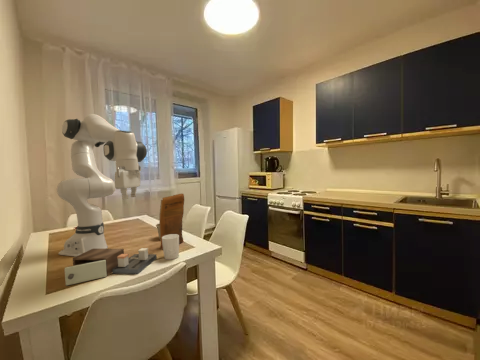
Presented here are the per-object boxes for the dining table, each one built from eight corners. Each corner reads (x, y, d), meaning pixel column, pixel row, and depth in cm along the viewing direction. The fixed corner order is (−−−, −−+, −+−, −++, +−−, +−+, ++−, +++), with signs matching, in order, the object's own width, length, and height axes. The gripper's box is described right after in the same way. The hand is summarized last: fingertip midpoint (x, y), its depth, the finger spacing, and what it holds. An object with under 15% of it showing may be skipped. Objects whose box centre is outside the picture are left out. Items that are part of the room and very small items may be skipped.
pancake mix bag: (190, 240, 132) (188, 193, 131) (164, 251, 116) (161, 197, 114) (182, 239, 136) (179, 192, 134) (155, 249, 119) (152, 196, 118)
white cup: (170, 261, 103) (169, 239, 102) (159, 258, 107) (158, 237, 106) (183, 255, 109) (182, 235, 109) (172, 252, 114) (171, 233, 113)
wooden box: (73, 274, 93) (72, 258, 92) (94, 263, 104) (93, 248, 103) (107, 275, 91) (106, 258, 91) (124, 263, 102) (123, 248, 102)
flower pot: (169, 240, 134) (169, 226, 134) (154, 240, 134) (153, 226, 134) (174, 235, 144) (173, 222, 143) (159, 236, 144) (159, 222, 143)
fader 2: (138, 260, 100) (138, 250, 100) (142, 257, 103) (141, 248, 103) (145, 260, 100) (144, 250, 99) (148, 257, 103) (148, 248, 102)
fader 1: (117, 266, 94) (117, 256, 93) (122, 263, 97) (121, 253, 96) (124, 267, 93) (124, 256, 93) (129, 264, 96) (128, 253, 96)
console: (112, 273, 92) (112, 268, 92) (134, 258, 108) (134, 253, 108) (137, 274, 91) (137, 269, 91) (156, 258, 107) (156, 254, 107)
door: (65, 287, 82) (63, 269, 82) (66, 284, 84) (65, 267, 84) (106, 277, 88) (105, 261, 88) (106, 275, 91) (105, 259, 90)
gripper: (125, 165, 90) (128, 200, 90) (142, 167, 110) (144, 195, 111) (108, 166, 89) (111, 201, 90) (128, 168, 109) (130, 196, 110)
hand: (129, 198), depth 100 cm, fingers open, 8 cm apart
